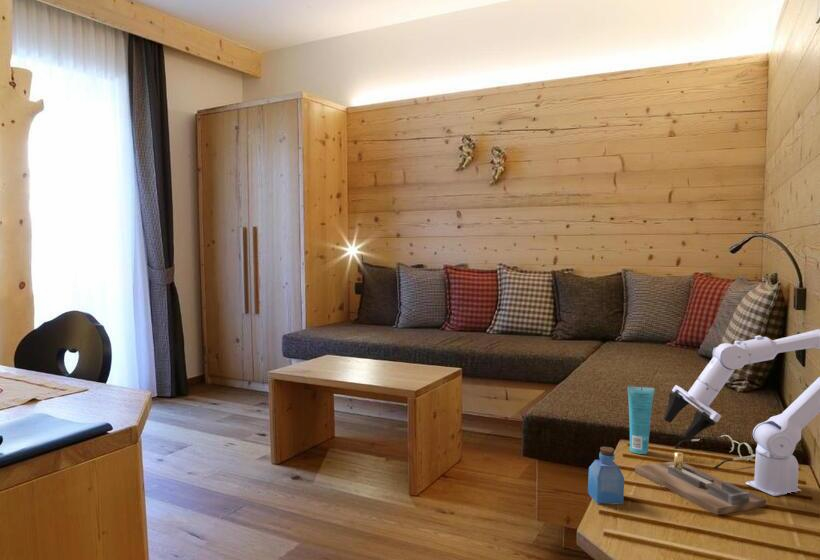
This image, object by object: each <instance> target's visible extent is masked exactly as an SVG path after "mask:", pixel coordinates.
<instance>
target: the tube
mask: <svg viewBox="0 0 820 560" xmlns="http://www.w3.org/2000/svg"><path fill="white" fill-rule="evenodd" d="M655 390H656V389H655V387H642V386H641V387H640V386H639V387H638V386H629V385H628V386H627V395H628V417H629V419H628V420H629V451H630V453H631V452H632V453H634V454H637V455H647V454H648V452H649V444H650V443H649V442H650V432H651V431H650V430H651V417H652V409H653V408H652V407H653V402H654V400H653V399H654V395H655Z"/></svg>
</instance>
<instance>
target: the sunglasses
mask: <svg viewBox="0 0 820 560" xmlns="http://www.w3.org/2000/svg"><path fill="white" fill-rule="evenodd" d="M719 437H723V438H724V437H728V438H729V439H730V441H731V445H732V447H730V449H731V450H730V451H729V453H731V452H733V451H734V449H735V443H737V444H738V446H737V453H738V454H739V455H738V456H739V457H735V458H732V459H731V458H730V459H727V460H726V459H725V460H723V461H722V462H720V463H718V464H717V465H715V466H713V467H712V469H718V468H719V467H721V466H722V465H723V464H725V463H728V462H733V461H739V460H740V461H741V460H746V459H747V460H746V461H747V462H748V461H749V460H750V461H749V462H751V461H752V460H753V458H755V457H756V453H755V454H754V450H753V449H752V447H751V446H750V445H749V443H747V442H741V443H740V442H738V441H736V440H733V439H732V437H731V436H730V435H727V434H723V435H720V436H719ZM700 439H701V438H694V439H693V438H692V439H683V440H680V441H679V442H678V443H677V444H676V446H674V448H673V449H678V448H679V447H680V446H681V444H682V443H683V442H700V441H699V440H700ZM743 444H744V445H745V446H746V447H747V450H748V453H749V454H751V455H747V456H742V454H741V450H740V448H741V445H743Z"/></svg>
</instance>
